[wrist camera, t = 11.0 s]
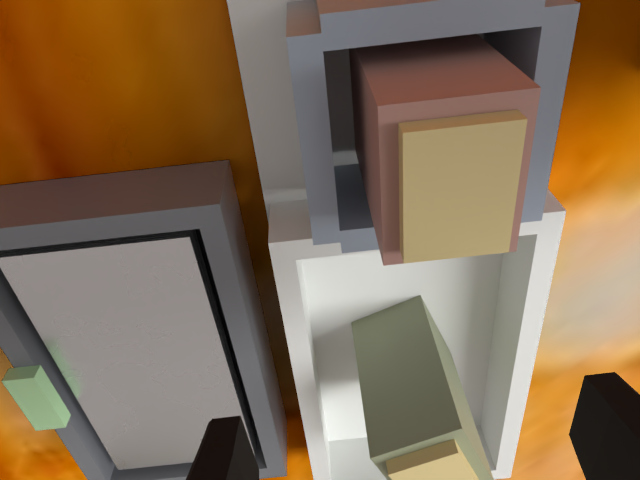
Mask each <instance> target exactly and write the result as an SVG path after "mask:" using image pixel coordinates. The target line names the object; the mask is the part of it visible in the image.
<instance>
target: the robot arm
mask: <svg viewBox="0 0 640 480" xmlns="http://www.w3.org/2000/svg"><path fill="white" fill-rule="evenodd" d="M569 436H570V438H571V441H572V444H573V447H574V449H575V452H576V455H577V457H578V460H579V463H580V465H581V468H582V470H583V473H584V475H585V478H586V480H640V395H639V394H638V393H637V392H636V391H635V390H634V389H633V388H632V387H631V386H630V385H629V384H627V383H626V382H625V381H624V380H623V379H622V378H621V377H620V376H619V375H617V374H616V373H615V372H612V373H603V374H595V375H586V376H584V380H583V384H582V388H581V391H580V395H579V399H578V403H577V406H576V410H575V414H574V418H573V422H572V425H571V429H570V433H569ZM186 480H259V467H258V464H257V462H256V459H255V456H254V453H253V450H252V447H251V444H250V441H249V438H248V436H247V433H246V430H245V427H244V424H243V421H242V418H241V416H232V417H223V418H215V419H212V420H211V421H210V422H209V423H208V425H207V428H206V431H205V433H204V436H203V439H202V441H201V444H200V446H199V449H198V451H197V454H196V456H195V459H194V461H193V464H192V466H191V468H190V471H189V473H188V475H187V477H186Z"/></svg>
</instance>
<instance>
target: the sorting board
mask: <svg viewBox="0 0 640 480" xmlns="http://www.w3.org/2000/svg"><path fill="white" fill-rule="evenodd" d="M580 4H581V3H579V2H577V1H574V0H227V5H228V10H229V16H230V21H231V26H232V32H233V37H234V42H235V48H236V53H237V58H238V64H239V69H240V74H241V80H242V85H243V90H244V96H245V101H246V106H247V112H248V117H249V122H250V127H251V133H252V138H253V143H254V149H255V154H256V159H257V165H258V170H259V175H260V181H261V186H262V191H263V197H264V202H265V207H266V213H267V218H268V223H269V235H268V246H269V251H270V256H271V261H272V267H273V272H274V277H275V282H276V287H277V292H278V298H279V303H280V308H281V313H282V318H283V323H284V329H285V334H286V339H287V344H288V349H289V354H290V360H291V365H292V370H293V375H294V380H295V385H296V391H297V396H298V401H299V406H300V411H301V416H302V422H303V427H304V432H305V437H306V442H307V447H308V453H309V458H310V463H311V468H312V473H313V478H314V480H387V479H386V478H385V476H384V475H383V474H382V473H381V471H380V470H379V469H378V468H377V467H376V465H375V464H374V463H373V462H372V460H371V459H370V455H369V448H368V440H367V433H366V426H365V419H364V412H363V404H362V397H361V390H360V383H359V376H358V368H357V361H356V354H355V347H354V339H353V332H352V325H351V322H353V321H356V320H358V319H361V318H363V317H366V316H368V315H371V314H373V313H376V312H378V311H381V310H383V309H386V308H388V307H391V306H393V305H396V304H399V303H401V302H404V301H406V300H409V299H411V298H414V297H416V296H419V295H421V297H422V299H423V301H424V303H425V305H426V307H427V309H428V310H429V312H430V314H431V316H432V318H433V320H434V322H435V324H436V326H437V327H438V329H439V331H440V333H441V335H442V337H443V339H444V341H445V343H446V345H447V346H448V348H449V350H450V352H451V355H452V358H453V361H454V364H455V367H456V370H457V373H458V376H459V379H460V382H461V384H462V387H463V390H464V393H465V396H466V399H467V402H468V405H469V408H470V411H471V414H472V417H473V420H474V423H475V426H476V429H477V432H478V435H479V437H480V440H481V443H482V446H483V449H484V452H485V455H486V458H487V461H488V464H489V467H490V470H491V473H492V476H493V479H502V478H511V473H512V468H513V463H514V458H515V454H516V449H517V444H518V439H519V435H520V430H521V425H522V420H523V415H524V411H525V406H526V401H527V396H528V391H529V387H530V382H531V377H532V372H533V368H534V363H535V358H536V353H537V348H538V344H539V339H540V334H541V329H542V325H543V320H544V315H545V310H546V305H547V301H548V296H549V291H550V286H551V282H552V277H553V272H554V267H555V262H556V258H557V253H558V248H559V243H560V238H561V234H562V229H563V224H564V219H565V215H566V210H565V209H564V207H563V206H562V205H561V204H560V203H559V201H558V200H557V199H556V198H555V197H554V195H553V194H552V193H551V192H550V191H549V189H548V183H549V177H550V172H551V166H552V161H553V155H554V149H555V144H556V138H557V133H558V127H559V122H560V116H561V110H562V105H563V99H564V94H565V88H566V82H567V77H568V71H569V66H570V60H571V54H572V49H573V43H574V38H575V32H576V27H577V21H578V15H579V10H580ZM471 34H478V35H479V36H480V37H481V38H482V39H484V40H485V41H486V42H487V43H488V44H490V45H491V46H492V47H493V48H494V49H496V50H497V51H498V52H499V53H500V54H502V55H503V56H504V57H505V58H506V59H508V60H509V61H510V62H511V63H512V64H514V65H515V66H516V67H517V68H518V69H520V70H521V71H522V72H523V73H524V74H526V75H527V76H528V77H529V78H530V79H532V80H533V81H534V82H535V83H536V84H538V85H539V86H540V87H541V92H540V98H539V105H538V112H537V118H536V125H535V132H534V138H533V145H532V151H531V158H530V165H529V171H528V178H527V184H526V191H525V198H524V204H523V211H522V217H521V224H520V231H519V237H518V244H517V251H516V252H507V253H497V254H488V255H479V256H470V257H460V258H451V259H442V260H433V261H423V262H414V263H405V264H395V265H386V266H383V262H382V258H381V254H380V250H379V246H378V242H377V237H376V233H375V229H374V225H373V221H372V217H371V213H370V209H369V204H368V200H367V196H366V192H365V188H364V184H363V180H362V175H361V171H360V167H359V163H358V159H357V155H356V151H355V135H354V119H353V104H352V88H351V73H350V57H349V48H358V47H367V46H375V45H384V44H393V43H401V42H410V41H419V40H427V39H436V38H445V37H453V36H462V35H471Z"/></svg>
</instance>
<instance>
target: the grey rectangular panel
mask: <svg viewBox="0 0 640 480" xmlns="http://www.w3.org/2000/svg"><path fill="white" fill-rule="evenodd" d="M0 268H1V270H2V272H3V273H4V275H5V277H6V279H7V280H8V282H9V284H10V285H11V287H12V289H13V291H14V292H15V294H16V296H17V297H18V299H19V301H20V303H21V304H22V306H23V308H24V309H25V311H26V313H27V315H28V316H29V318H30V320H31V321H32V323H33V325H34V327H35V328H36V330H37V332H38V333H39V335H40V337H41V339H42V340H43V342H44V344H45V345H46V347H47V349H48V351H49V352H50V354H51V356H52V357H53V359H54V361H55V363H56V364H57V366H58V368H59V369H60V371H61V373H62V375H63V376H64V378H65V380H66V381H67V383H68V385H69V387H70V388H71V390H72V392H73V393H74V395H75V397H76V399H77V400H78V402H79V404H80V405H81V407H82V409H83V411H84V412H85V414H86V416H87V417H88V419H89V421H90V423H91V424H92V426H93V428H94V429H95V431H96V433H97V435H98V436H99V438H100V440H101V441H102V443H103V445H104V447H105V448H106V450H107V452H108V453H109V455H110V457H111V459H112V460H113V462H114V464H115V465H116V467H117V469H118V470H123V469H133V468H143V467H152V466H162V465H172V464H182V463H192V462H193V461H194V459H195V456H196V454H197V451H198V449H199V446H200V444H201V441H202V439H203V436H204V433H205V431H206V428H207V425H208V423H209V422H210V421H211V420H212V419H215V418H223V417H232V416H241V418H242V421H243V424H244V427H245V430H246V433H247V436H248V438H249V441H250V444H251V447H252V450H253V453H254V456H255V449H256V439H255V435H254V432H253V428H252V425H251V421H250V418H249V415H248V411H247V408H246V404H245V401H244V397H243V394H242V390H241V387H240V383H239V380H238V376H237V373H236V370H235V366H234V363H233V359H232V356H231V352H230V349H229V345H228V342H227V338H226V335H225V331H224V328H223V325H222V321H221V318H220V314H219V311H218V307H217V304H216V300H215V297H214V293H213V290H212V286H211V283H210V280H209V276H208V273H207V269H206V266H205V262H204V259H203V255H202V252H201V248H200V245H199V241H198V238H197V235H196V231H195V229H193V230H184V231H175V232H166V233H157V234H148V235H139V236H129V237H120V238H111V239H102V240H93V241H84V242H75V243H66V244H57V245H47V246H38V247H29V248H20V249H11V250H2V251H0Z"/></svg>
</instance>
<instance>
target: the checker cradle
mask: <svg viewBox="0 0 640 480" xmlns="http://www.w3.org/2000/svg"><path fill="white" fill-rule="evenodd" d="M193 229H195V231H196V235H197V238H198V241H199V245H200V248H201V252H202V255H203V259H204V262H205V266H206V269H207V273H208V276H209V280H210V283H211V286H212V290H213V293H214V297H215V300H216V304H217V307H218V311H219V314H220V318H221V321H222V325H223V328H224V331H225V335H226V338H227V342H228V345H229V349H230V352H231V356H232V359H233V363H234V366H235V370H236V373H237V376H238V380H239V383H240V387H241V390H242V394H243V397H244V401H245V404H246V408H247V411H248V415H249V418H250V421H251V425H252V428H253V432H254V435H255V439H256V449H255V459H256V462H257V464H258V467H259V479H262V478H272V477H282V476H287V418H286V414H285V409H284V405H283V400H282V396H281V391H280V387H279V382H278V378H277V373H276V369H275V364H274V360H273V355H272V351H271V346H270V342H269V337H268V333H267V328H266V324H265V319H264V315H263V310H262V306H261V301H260V297H259V292H258V288H257V283H256V279H255V274H254V270H253V265H252V260H251V256H250V251H249V247H248V242H247V238H246V233H245V229H244V224H243V220H242V215H241V211H240V206H239V202H238V197H237V193H236V188H235V184H234V179H233V175H232V170H231V166H230V161H229V160H223V161H214V162H205V163H196V164H187V165H178V166H169V167H160V168H151V169H142V170H133V171H124V172H115V173H107V174H98V175H89V176H80V177H71V178H62V179H53V180H44V181H35V182H26V183H17V184H8V185H0V251H2V250H11V249H20V248H29V247H38V246H47V245H57V244H66V243H75V242H84V241H93V240H102V239H111V238H120V237H129V236H139V235H148V234H157V233H166V232H175V231H184V230H193ZM0 347H1V349H2V350H3V352H4V353H5V355H6V356H7V358H8V359H9V361H10V362H11V364H12V365H13V367H14V368H9V369H8V371H7V372H6V374H5V376H4V378H3V379H2V383H3V384H4V386H5V387H6V388H7V390H8V391H9V393H10V394H11V396H12V397H13V399H14V400H15V401H16V403H17V404H18V406H19V407H20V409H21V410H22V411H23V413H24V414H25V416H26V417H27V419H28V420H29V422H30V423H31V424H32V426H33V427H34V429H35V430H36V431H38V430H48V429H55V431H56V432H57V434H58V435H59V437H60V438H61V440H62V441H63V443H64V444H65V446H66V447H67V449H68V451H69V452H70V454H71V455H72V457H73V458H74V460H75V461H76V463H77V464H78V466H79V467H80V469H81V470H82V472H83V473H84V475H85V476H86V478H87V479H88V480H186V477H187V475H188V473H189V471H190V468H191V466H192V464H193V462H192V463H182V464H172V465H162V466H152V467H143V468H133V469H123V470H118V469H117V467H116V465H115V464H114V462H113V460H112V459H111V457H110V455H109V453H108V452H107V450H106V448H105V447H104V445H103V443H102V441H101V440H100V438H99V436H98V435H97V433H96V431H95V429H94V428H93V426H92V424H91V423H90V421H89V419H88V417H87V416H86V414H85V412H84V411H83V409H82V407H81V405H80V404H79V402H78V400H77V399H76V397H75V395H74V393H73V392H72V390H71V388H70V387H69V385H68V383H67V381H66V380H65V378H64V376H63V375H62V373H61V371H60V369H59V368H58V366H57V364H56V363H55V361H54V359H53V357H52V356H51V354H50V352H49V351H48V349H47V347H46V345H45V344H44V342H43V340H42V339H41V337H40V335H39V333H38V332H37V330H36V328H35V327H34V325H33V323H32V321H31V320H30V318H29V316H28V315H27V313H26V311H25V309H24V308H23V306H22V304H21V303H20V301H19V299H18V297H17V296H16V294H15V292H14V291H13V289H12V287H11V285H10V284H9V282H8V280H7V279H6V277H5V275H4V273H3V272H2V270H1V268H0Z"/></svg>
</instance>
